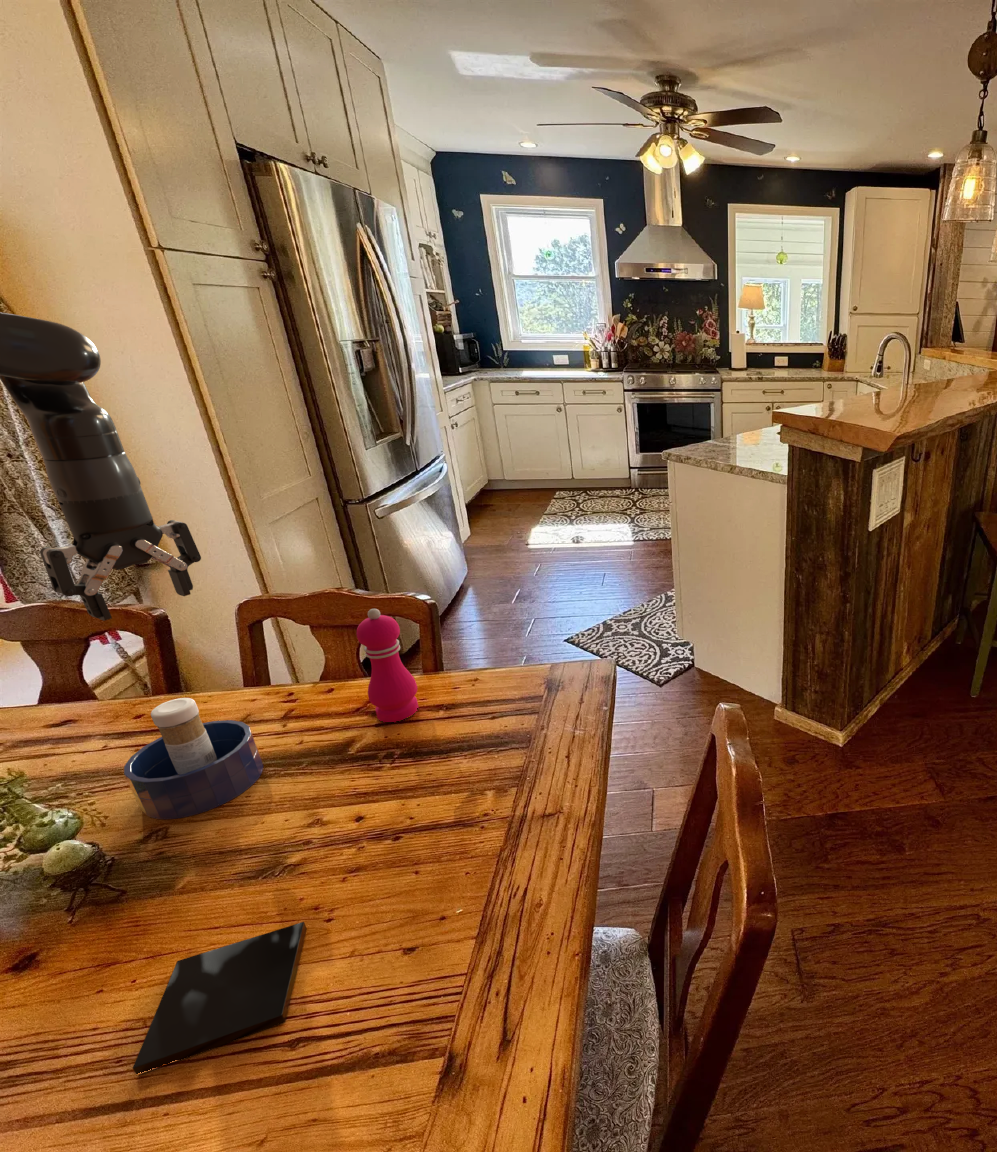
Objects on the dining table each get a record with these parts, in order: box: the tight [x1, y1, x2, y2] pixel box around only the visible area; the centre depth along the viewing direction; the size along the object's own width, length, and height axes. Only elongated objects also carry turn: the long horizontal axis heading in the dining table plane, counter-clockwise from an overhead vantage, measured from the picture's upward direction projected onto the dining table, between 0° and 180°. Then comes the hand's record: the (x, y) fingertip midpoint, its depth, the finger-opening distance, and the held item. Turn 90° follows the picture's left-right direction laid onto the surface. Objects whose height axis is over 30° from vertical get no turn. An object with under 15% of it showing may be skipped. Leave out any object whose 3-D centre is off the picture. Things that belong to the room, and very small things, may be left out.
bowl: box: [123, 719, 264, 820], centre depth 88 cm, size 13×13×6 cm
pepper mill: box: [356, 608, 419, 723], centre depth 102 cm, size 7×7×20 cm
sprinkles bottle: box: [150, 697, 217, 775], centre depth 86 cm, size 5×5×14 cm
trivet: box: [132, 921, 308, 1075], centre depth 62 cm, size 11×11×1 cm
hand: (146, 606), depth 83 cm, fingers open, 8 cm apart
